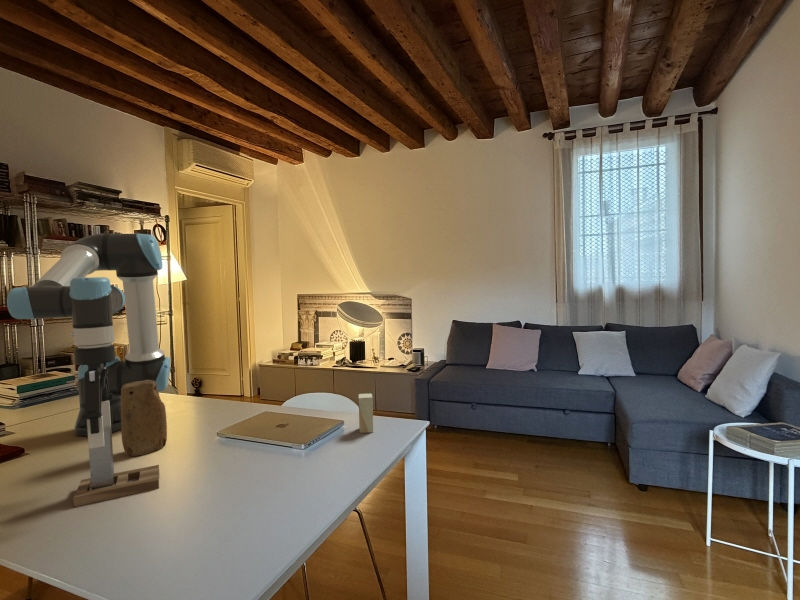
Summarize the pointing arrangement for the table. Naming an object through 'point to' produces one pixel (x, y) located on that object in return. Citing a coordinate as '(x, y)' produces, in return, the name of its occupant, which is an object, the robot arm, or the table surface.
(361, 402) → the box
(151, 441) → the block
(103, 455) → the steel bit
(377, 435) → the table surface
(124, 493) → the socket block
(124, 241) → the robot arm
